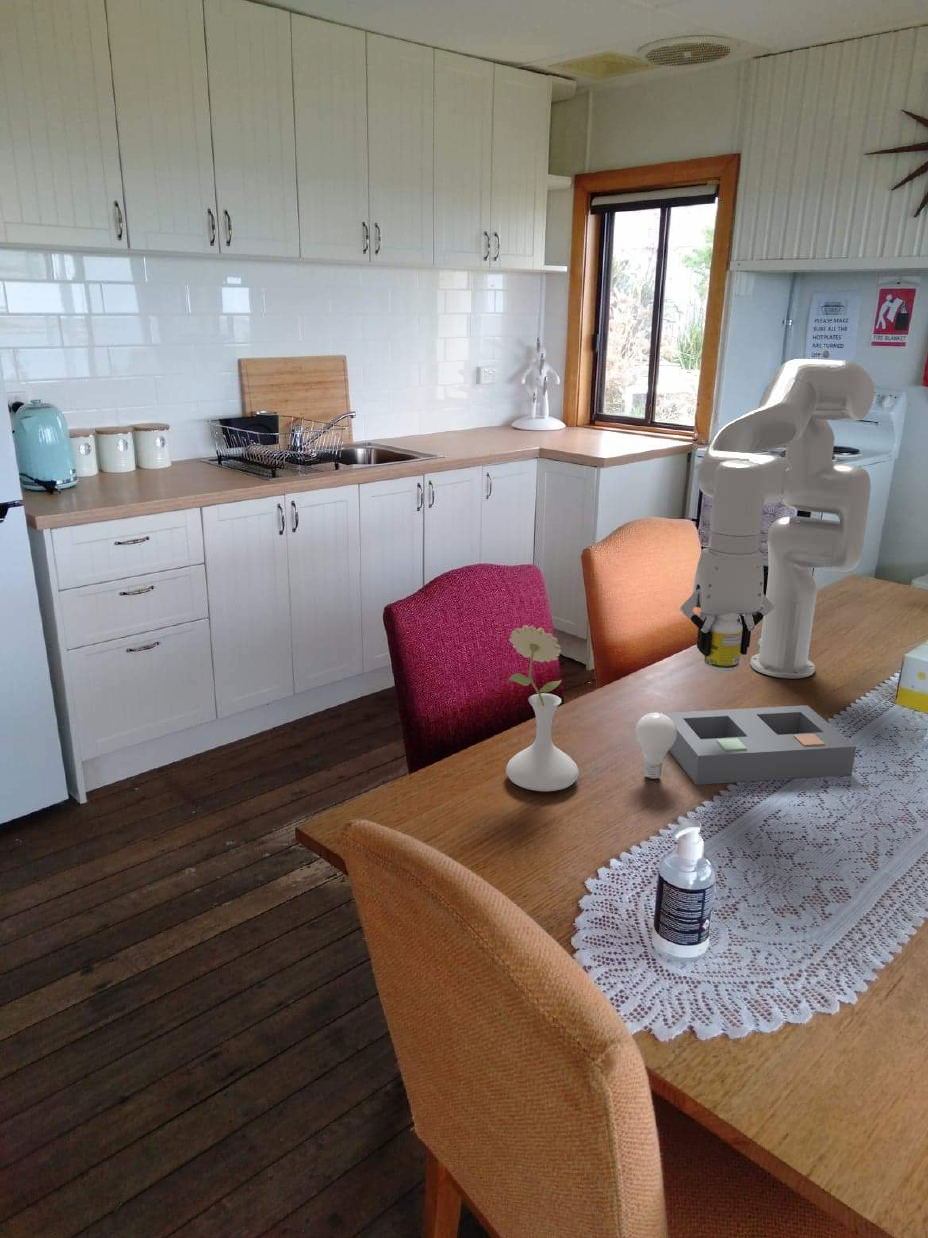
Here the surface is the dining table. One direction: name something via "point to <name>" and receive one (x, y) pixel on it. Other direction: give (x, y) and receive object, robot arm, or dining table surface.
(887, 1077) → the dining table surface
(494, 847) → the dining table surface
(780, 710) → the socket board
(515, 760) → the flower in vase
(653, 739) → the lightbulb
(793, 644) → the robot arm
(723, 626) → the supplement bottle
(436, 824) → the dining table surface
